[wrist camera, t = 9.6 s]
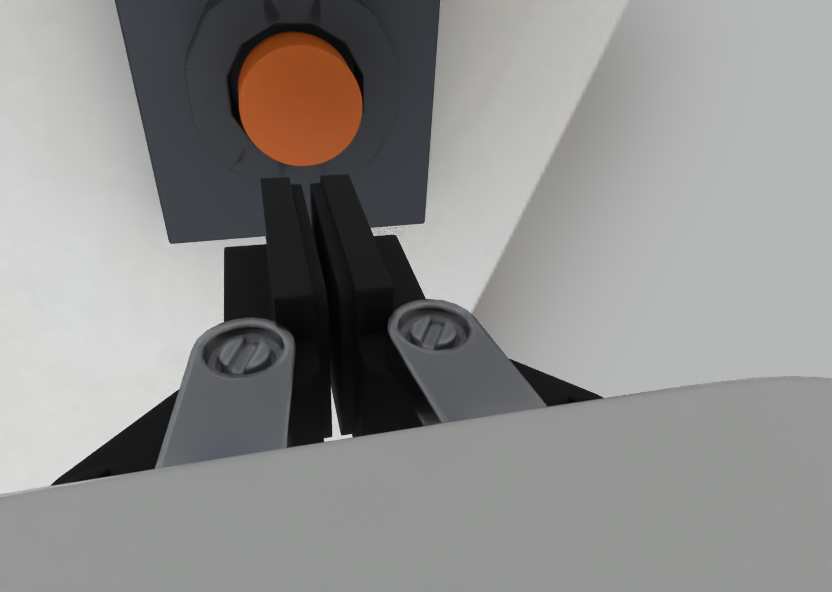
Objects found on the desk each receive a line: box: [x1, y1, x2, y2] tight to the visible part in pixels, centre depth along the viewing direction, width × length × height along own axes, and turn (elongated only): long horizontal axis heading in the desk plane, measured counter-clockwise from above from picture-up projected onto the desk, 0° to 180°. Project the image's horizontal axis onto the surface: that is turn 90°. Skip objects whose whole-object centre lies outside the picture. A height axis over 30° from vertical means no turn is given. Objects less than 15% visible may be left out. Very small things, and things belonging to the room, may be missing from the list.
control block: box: [115, 0, 440, 244], centre depth 20 cm, size 12×10×4 cm
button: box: [238, 31, 363, 166], centre depth 18 cm, size 4×4×2 cm
